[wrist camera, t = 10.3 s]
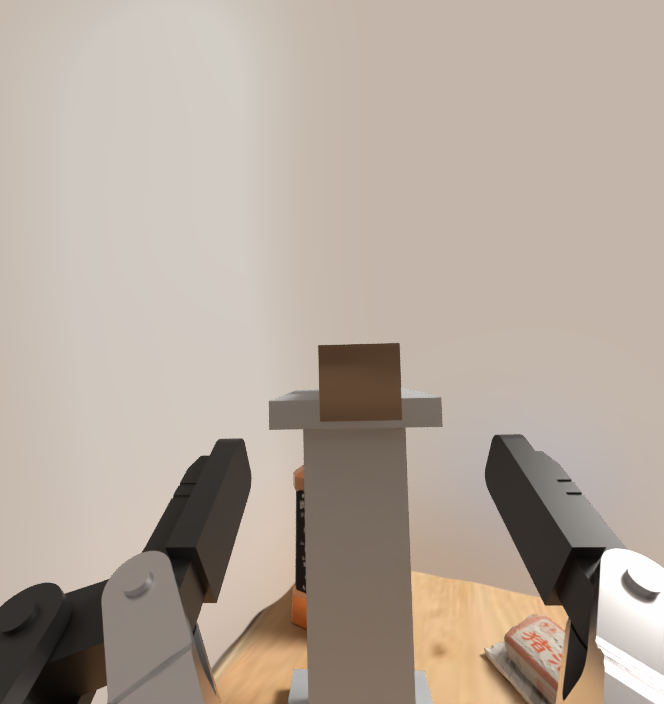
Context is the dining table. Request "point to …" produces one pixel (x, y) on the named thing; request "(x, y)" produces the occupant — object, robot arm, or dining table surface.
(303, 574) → the whiskey bottle
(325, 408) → the lever bar
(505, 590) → the dining table surface
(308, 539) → the grey stand
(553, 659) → the packaged product
